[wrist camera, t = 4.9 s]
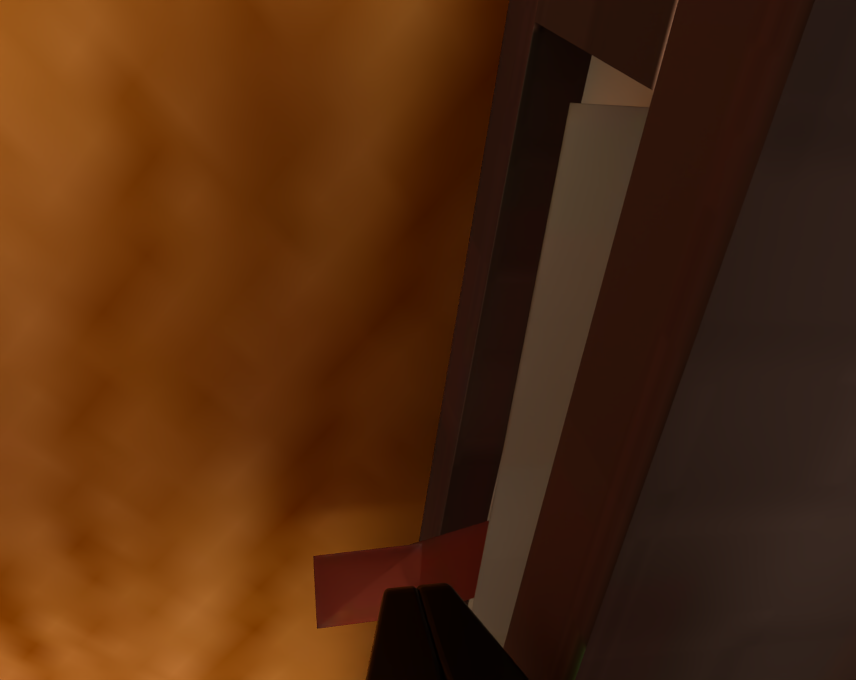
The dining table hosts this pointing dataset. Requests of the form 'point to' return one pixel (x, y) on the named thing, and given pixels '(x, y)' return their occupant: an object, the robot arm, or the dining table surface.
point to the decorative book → (652, 352)
